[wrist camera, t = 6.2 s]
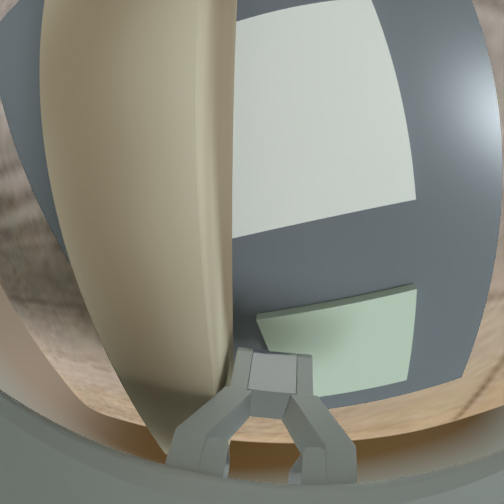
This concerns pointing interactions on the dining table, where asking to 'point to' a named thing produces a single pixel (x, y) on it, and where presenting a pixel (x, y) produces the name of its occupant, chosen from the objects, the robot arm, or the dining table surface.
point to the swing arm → (147, 188)
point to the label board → (340, 183)
